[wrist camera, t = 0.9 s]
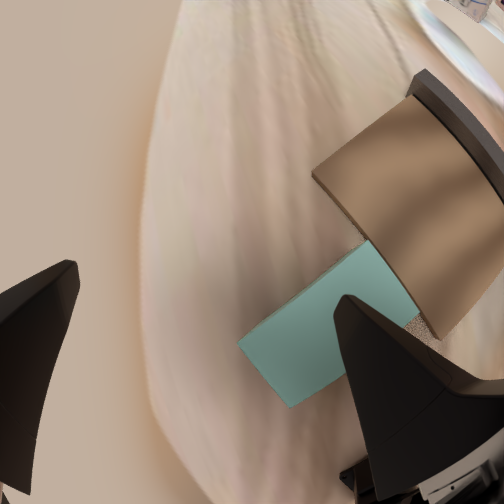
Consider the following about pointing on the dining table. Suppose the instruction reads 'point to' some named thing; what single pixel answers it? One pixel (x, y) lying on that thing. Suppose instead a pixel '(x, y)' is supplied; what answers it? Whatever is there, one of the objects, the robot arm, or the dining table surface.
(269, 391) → the dining table surface
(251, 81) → the dining table surface
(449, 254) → the shelf board
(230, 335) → the dining table surface
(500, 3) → the pink printed box
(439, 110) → the price rail
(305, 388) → the teal carton
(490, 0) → the light bulb box
